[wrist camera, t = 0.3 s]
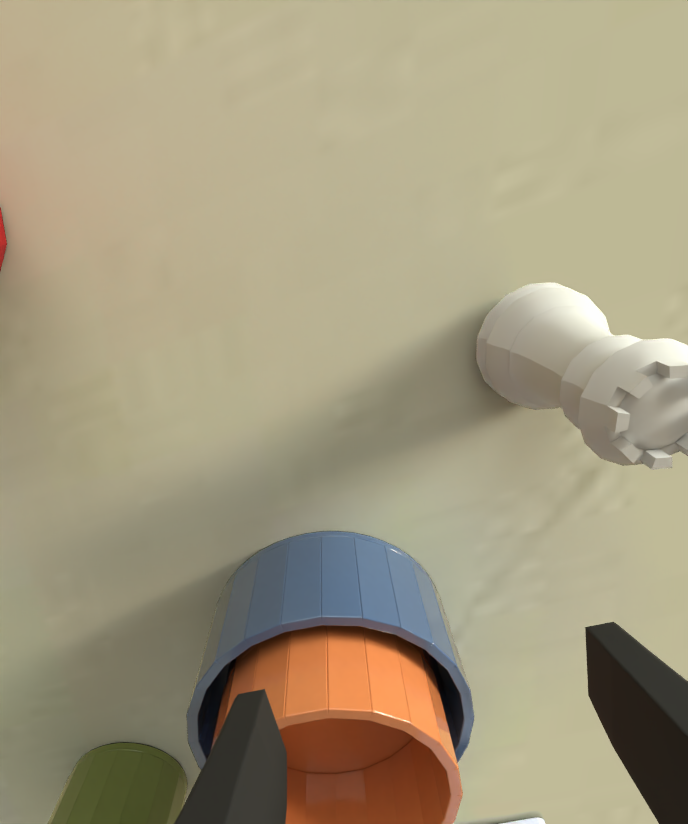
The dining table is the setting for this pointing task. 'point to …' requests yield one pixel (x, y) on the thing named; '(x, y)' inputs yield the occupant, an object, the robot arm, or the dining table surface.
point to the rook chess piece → (588, 373)
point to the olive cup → (122, 787)
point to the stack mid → (354, 725)
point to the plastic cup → (2, 240)
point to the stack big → (328, 617)
